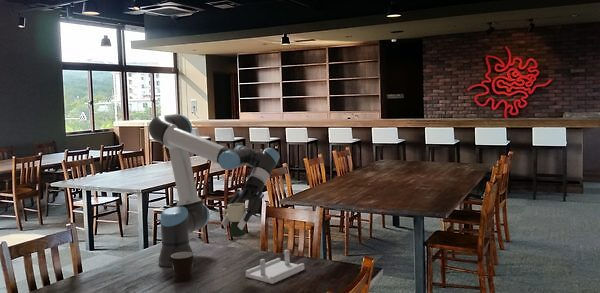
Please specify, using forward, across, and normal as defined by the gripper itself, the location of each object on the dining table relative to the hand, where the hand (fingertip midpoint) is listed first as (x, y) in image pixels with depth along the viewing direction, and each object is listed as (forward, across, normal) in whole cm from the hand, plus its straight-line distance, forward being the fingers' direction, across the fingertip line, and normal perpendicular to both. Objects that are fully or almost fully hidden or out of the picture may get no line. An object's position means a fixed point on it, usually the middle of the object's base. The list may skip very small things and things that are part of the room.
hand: (231, 226), depth 210 cm
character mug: (+1, 0, -6) cm, 6 cm away
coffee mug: (+24, +14, -5) cm, 28 cm away
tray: (+6, -12, -23) cm, 26 cm away
